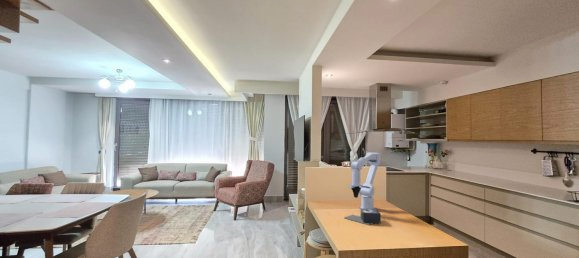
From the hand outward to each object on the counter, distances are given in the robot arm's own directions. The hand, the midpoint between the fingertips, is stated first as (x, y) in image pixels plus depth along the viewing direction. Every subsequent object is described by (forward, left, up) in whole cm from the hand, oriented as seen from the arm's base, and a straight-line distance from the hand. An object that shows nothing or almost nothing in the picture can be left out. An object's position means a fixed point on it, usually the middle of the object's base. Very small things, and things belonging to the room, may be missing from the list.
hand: (355, 197), depth 182 cm
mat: (+14, +12, -10) cm, 21 cm away
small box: (+7, +14, -7) cm, 17 cm away
